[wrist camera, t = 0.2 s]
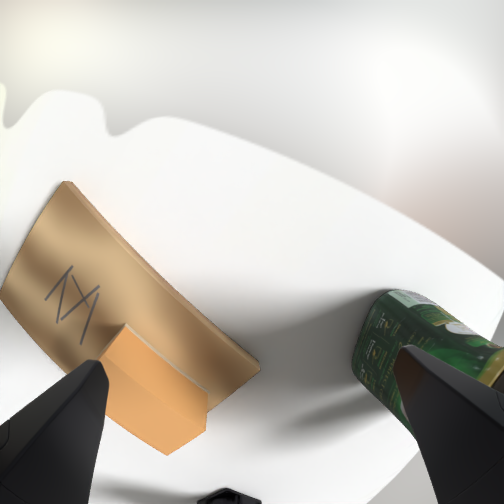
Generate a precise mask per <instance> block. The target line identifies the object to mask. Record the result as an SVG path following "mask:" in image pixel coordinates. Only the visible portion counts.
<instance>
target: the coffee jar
mask: <svg viewBox="0 0 504 504" xmlns="http://www.w3.org/2000/svg"><path fill="white" fill-rule="evenodd" d="M407 345H414V346H416V347H418V348H419V349H421V350H423V351H425V352H427V353H429V354H430V355H432V356H434V357H436V358H438V359H440V360H441V361H443V362H445V363H447V364H449V365H450V366H452V367H454V368H456V369H458V370H460V371H461V372H463V373H465V374H467V375H469V376H471V377H472V378H474V379H476V380H478V381H480V382H482V383H483V384H485V385H487V386H489V387H491V388H493V389H494V390H495V391H498V392H500V393H502V394H504V347H500V346H498V345H496V344H494V343H492V342H490V341H488V340H487V339H485V338H483V337H482V336H480V335H478V334H477V333H475V332H474V331H473V330H471V329H470V328H468V327H467V326H466V325H464V324H463V323H462V322H460V321H459V320H457V319H456V318H455V317H453V316H452V315H451V314H449V313H448V312H447V311H445V310H444V309H443V308H441V307H440V306H439V305H437V304H436V303H434V302H433V301H431V300H429V299H428V298H426V297H424V296H422V295H420V294H418V293H415V292H412V291H407V290H393V291H389V292H387V293H385V294H383V295H382V296H381V297H379V298H378V299H377V300H376V302H375V303H374V305H373V306H372V308H371V310H370V312H369V314H368V316H367V318H366V321H365V323H364V325H363V327H362V330H361V333H360V336H359V338H358V341H357V344H356V348H355V351H354V355H353V359H352V369H353V372H354V375H355V376H356V377H357V378H358V380H359V381H360V382H361V383H362V384H363V385H364V386H365V387H366V388H367V389H368V390H369V391H370V392H371V393H372V394H373V395H374V396H375V397H376V398H377V399H378V400H379V401H380V402H381V403H382V404H384V405H385V406H386V407H387V408H388V409H389V410H390V411H391V413H392V414H393V415H394V416H395V417H396V418H397V419H398V420H399V421H400V422H401V423H402V424H403V425H404V426H405V427H406V428H407V429H408V430H409V432H410V433H411V434H412V435H413V437H414V438H415V435H414V433H413V430H412V428H411V425H410V423H409V420H408V418H407V415H406V413H405V410H404V407H403V404H402V400H401V397H400V393H399V390H398V387H397V383H396V380H395V377H394V374H393V364H394V362H395V359H396V357H397V354H398V351H399V349H400V348H401V347H402V346H407ZM415 439H416V438H415Z"/></svg>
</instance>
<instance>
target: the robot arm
mask: <svg viewBox="0 0 504 504" xmlns="http://www.w3.org/2000/svg"><path fill="white" fill-rule="evenodd" d="M393 374H394V377H395V380H396V383H397V387H398V390H399V393H400V397H401V400H402V404H403V407H404V410H405V413H406V415H407V418H408V420H409V423H410V425H411V428H412V430H413V433H414V435H415V438H416V441H417V443H418V446H419V449H420V451H421V454H422V457H423V459H424V462H425V465H426V468H427V471H428V474H429V477H430V480H431V482H432V486H433V488H434V492H435V495H436V498H437V501H438V504H504V394H502V393H500V392H498V391H495V390H494V389H493V388H491V387H489V386H487V385H485V384H483V383H482V382H480V381H478V380H476V379H474V378H472V377H471V376H469V375H467V374H465V373H463V372H461V371H460V370H458V369H456V368H454V367H452V366H450V365H449V364H447V363H445V362H443V361H441V360H440V359H438V358H436V357H434V356H432V355H430V354H429V353H427V352H425V351H423V350H421V349H419V348H418V347H416V346H414V345H407V346H402V347H401V348H400V349H399V351H398V354H397V357H396V359H395V362H394V364H393ZM108 392H109V379H108V377H107V374H106V372H105V369H104V367H103V365H102V363H101V362H100V361H99V360H92V359H88V360H86V361H84V362H83V363H82V364H80V365H79V366H78V367H76V368H75V369H74V370H73V371H71V372H70V373H69V374H67V375H66V376H65V377H63V378H62V379H61V380H59V381H58V382H57V383H55V384H54V385H53V386H51V387H50V388H49V389H47V390H46V391H45V392H43V393H42V394H41V395H40V396H38V397H37V398H36V399H34V400H33V401H32V402H30V403H29V404H28V405H26V406H25V407H24V408H23V409H21V410H20V411H19V412H17V413H16V414H15V415H13V416H12V417H11V418H10V420H7V421H6V422H4V423H3V424H2V425H0V504H88V501H89V494H90V489H91V483H92V478H93V472H94V467H95V463H96V458H97V453H98V449H99V444H100V440H101V436H102V431H103V426H104V419H105V412H106V405H107V398H108ZM197 504H262V502H261V501H260V500H257V499H255V498H252V497H249V496H246V495H244V494H241V493H239V492H236V491H234V490H231V489H224V490H222V491H220V492H218V493H216V494H213V495H211V496H209V497H207V498H204V499H202V500H200V501H198V502H197Z"/></svg>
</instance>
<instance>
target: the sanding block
mask: <svg viewBox="0 0 504 504" xmlns="http://www.w3.org/2000/svg"><path fill="white" fill-rule="evenodd" d="M95 360H99V361H100V362H101V363H102V365H103V367H104V369H105V372H106V374H107V377H108V379H109V392H108V398H107V405H106V412H105V415H107V416H108V417H109V418H111V419H112V420H113V421H115V422H116V423H117V424H119V425H120V426H122V427H123V428H124V429H126V430H127V431H129V432H130V433H132V434H133V435H135V436H136V437H138V438H139V439H141V440H142V441H144V442H145V443H147V444H148V445H150V446H152V447H153V448H155V449H156V450H158V451H160V452H161V453H163V454H165V455H166V456H167V455H169V454H171V453H172V452H174V451H176V450H177V449H179V448H180V447H182V446H183V445H185V444H186V443H188V442H190V441H191V440H193V439H194V438H196V437H197V436H199V435H200V434H201V433H203V432H204V431H206V418H207V403H208V395H209V394H210V391H209V390H207V389H206V388H204V387H203V386H202V385H200V384H199V383H198V382H196V381H195V380H194V379H192V378H191V377H190V376H188V375H187V374H186V373H185V372H183V371H182V370H181V369H179V368H178V367H177V366H176V365H174V364H173V363H172V362H171V361H169V360H168V359H167V358H166V357H164V356H163V355H162V354H161V353H160V352H158V351H157V350H156V349H155V348H154V347H153V346H151V345H150V344H149V343H148V342H147V341H146V340H144V339H143V338H142V337H141V336H140V335H139V334H138V333H137V332H136V331H134V330H133V329H132V328H131V327H130V326H129V325H128V324H127V323H126V324H125V325H124V326H123V327H122V328H121V330H120V331H119V332H118V333H117V334H116V335H115V336H114V338H113V339H112V340H111V341H110V342H109V343H108V344H107V346H106V347H105V348H104V349H103V350H102V351H101V353H100V354H99V355H98V356H97V357H96V359H95Z"/></svg>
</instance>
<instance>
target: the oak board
mask: <svg viewBox="0 0 504 504" xmlns="http://www.w3.org/2000/svg"><path fill="white" fill-rule="evenodd" d="M0 300H1V301H2V302H3V304H4V305H5V306H6V308H7V309H8V310H9V311H10V313H11V314H12V315H13V316H14V318H15V319H16V320H17V321H18V323H19V324H20V325H21V326H22V327H23V329H24V330H25V331H26V332H27V333H28V334H29V336H30V337H31V338H32V339H33V340H34V341H35V342H36V343H37V344H38V346H39V347H40V348H41V349H42V350H43V351H44V352H45V353H46V354H47V355H48V356H49V357H50V358H51V359H52V360H53V361H54V362H55V363H56V364H57V365H58V366H59V367H60V368H61V369H62V370H63V371H64V372H65V373H66V374H69V373H70V372H71V371H73V370H74V369H75V368H76V367H78V366H79V365H80V364H82V363H83V362H84V361H86V360H88V359H92V360H95V359H96V357H97V356H98V355H99V354H100V353H101V351H102V350H103V349H104V348H105V347H106V346H107V344H108V343H109V342H110V341H111V340H112V339H113V338H114V336H115V335H116V334H117V333H118V332H119V331H120V330H121V328H122V327H123V326H124V325H125V324H126V323H127V324H128V325H129V326H130V327H131V328H132V329H133V330H134V331H136V332H137V333H138V334H139V335H140V336H141V337H142V338H143V339H144V340H146V341H147V342H148V343H149V344H150V345H151V346H153V347H154V348H155V349H156V350H157V351H158V352H160V353H161V354H162V355H163V356H164V357H166V358H167V359H168V360H169V361H171V362H172V363H173V364H174V365H176V366H177V367H178V368H179V369H181V370H182V371H183V372H185V373H186V374H187V375H188V376H190V377H191V378H192V379H194V380H195V381H196V382H198V383H199V384H200V385H202V386H203V387H204V388H206V389H207V390H209V391H210V394H209V395H208V403H207V412H209V411H210V410H211V409H213V408H214V407H215V406H217V405H218V404H219V403H221V402H222V401H223V400H224V399H226V398H227V397H228V396H230V395H231V394H232V393H233V392H235V391H236V390H237V389H238V388H240V387H241V386H242V385H243V384H245V383H246V382H247V381H248V380H249V379H251V378H252V377H253V376H254V375H256V374H257V373H258V372H259V371H260V366H259V362H258V361H257V360H256V359H255V358H254V357H252V356H251V355H250V354H249V353H247V352H246V351H245V350H244V349H243V348H241V347H240V346H239V345H238V344H237V343H235V342H234V341H233V340H232V339H231V338H229V337H228V336H227V335H226V334H225V333H224V332H222V331H221V330H220V329H219V328H218V327H217V326H215V325H214V324H213V323H212V322H211V321H210V320H208V319H207V318H206V317H205V316H204V315H203V314H202V313H201V312H199V311H198V310H197V309H196V308H195V307H194V306H193V305H192V304H191V303H189V302H188V301H187V300H186V299H185V298H184V297H183V296H182V295H181V294H180V293H179V292H178V291H176V290H175V289H174V288H173V287H172V286H171V285H170V284H169V283H168V282H167V281H166V280H165V279H164V278H163V277H162V276H161V275H160V274H159V273H157V272H156V271H155V270H154V269H153V268H152V267H151V266H150V265H149V264H148V263H147V262H146V261H145V260H144V259H143V258H142V257H141V256H140V255H139V254H138V253H137V252H136V251H135V250H134V249H133V248H132V247H131V246H130V245H129V244H128V243H127V242H126V241H125V239H124V238H123V237H122V236H121V235H120V234H119V233H118V232H117V231H116V230H115V229H114V228H113V227H112V226H111V225H110V224H109V223H108V222H107V220H106V219H105V218H104V217H103V216H102V215H101V214H100V213H99V212H98V211H97V210H96V208H95V207H94V206H93V205H92V204H91V203H90V202H89V201H88V200H87V198H86V197H85V196H84V195H83V194H82V193H81V192H80V190H79V189H78V188H77V187H76V186H75V185H74V183H73V182H69V181H63V182H62V183H61V185H60V186H59V188H58V189H57V190H56V192H55V193H54V195H53V196H52V198H51V199H50V201H49V202H48V204H47V205H46V207H45V208H44V210H43V212H42V213H41V215H40V216H39V218H38V220H37V221H36V223H35V225H34V226H33V228H32V230H31V231H30V233H29V235H28V237H27V238H26V240H25V242H24V244H23V246H22V247H21V249H20V251H19V253H18V255H17V257H16V259H15V261H14V263H13V265H12V267H11V269H10V271H9V273H8V275H7V277H6V279H5V282H4V284H3V286H2V288H1V291H0Z"/></svg>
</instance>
